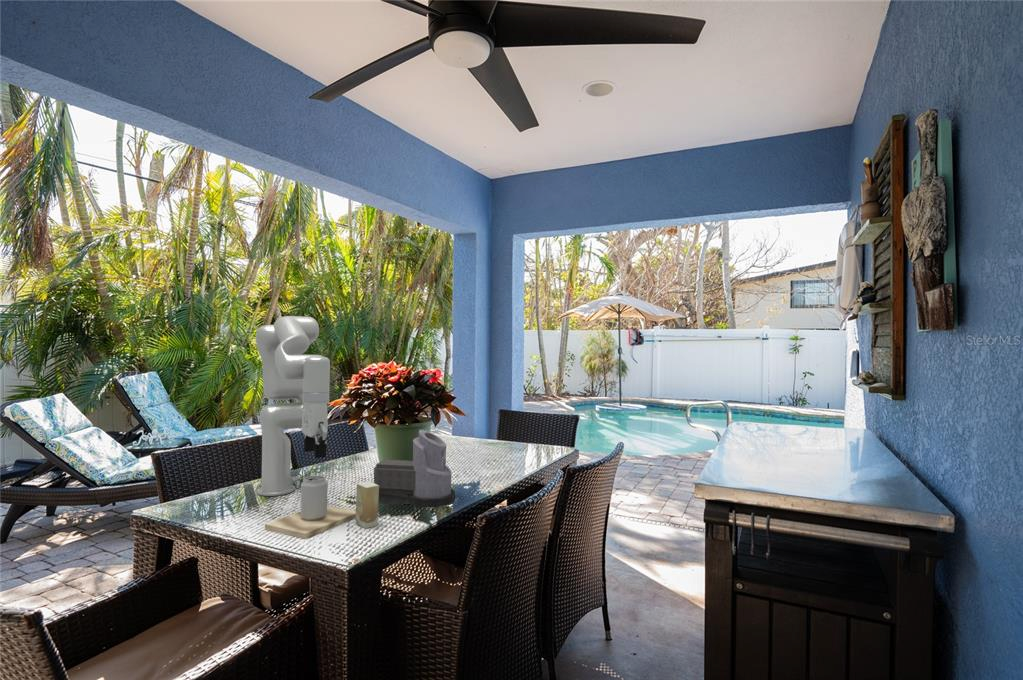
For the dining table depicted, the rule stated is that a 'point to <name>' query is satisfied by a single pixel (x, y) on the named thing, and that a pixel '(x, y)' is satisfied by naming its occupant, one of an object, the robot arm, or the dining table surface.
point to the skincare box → (367, 504)
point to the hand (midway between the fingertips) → (314, 454)
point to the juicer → (417, 475)
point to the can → (314, 498)
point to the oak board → (311, 523)
